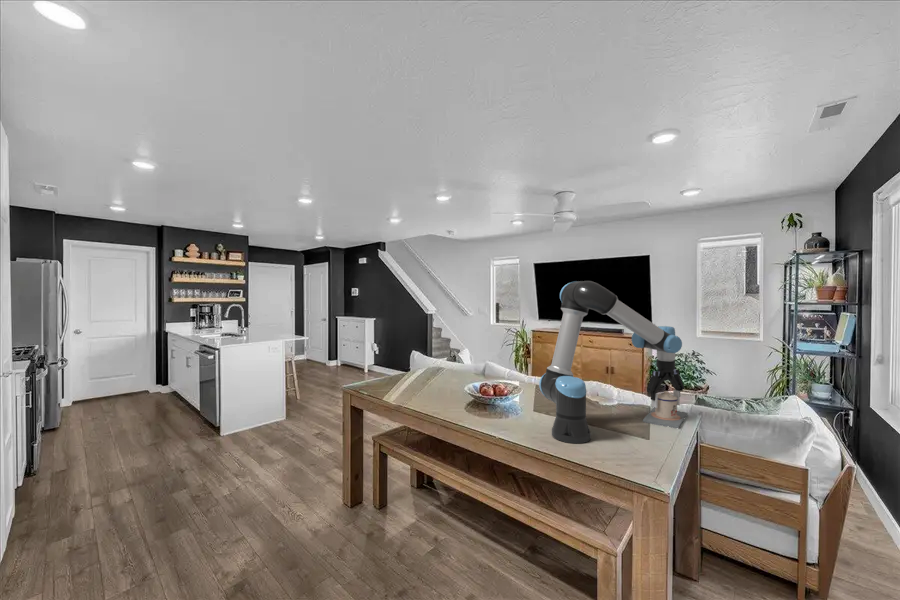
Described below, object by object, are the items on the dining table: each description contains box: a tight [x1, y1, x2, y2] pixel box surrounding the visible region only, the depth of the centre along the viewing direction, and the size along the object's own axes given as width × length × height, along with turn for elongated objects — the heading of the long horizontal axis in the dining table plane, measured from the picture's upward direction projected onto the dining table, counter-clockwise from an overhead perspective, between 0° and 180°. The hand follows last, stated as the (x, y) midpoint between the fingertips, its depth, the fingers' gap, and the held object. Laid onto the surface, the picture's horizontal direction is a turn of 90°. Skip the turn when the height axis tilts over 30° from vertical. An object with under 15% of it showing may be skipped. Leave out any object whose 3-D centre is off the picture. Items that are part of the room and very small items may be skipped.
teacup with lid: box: [655, 390, 678, 419], centre depth 176 cm, size 12×9×12 cm
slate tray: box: [642, 407, 688, 430], centre depth 176 cm, size 24×14×1 cm, turn 141°
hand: (665, 405), depth 176 cm, fingers open, 13 cm apart
